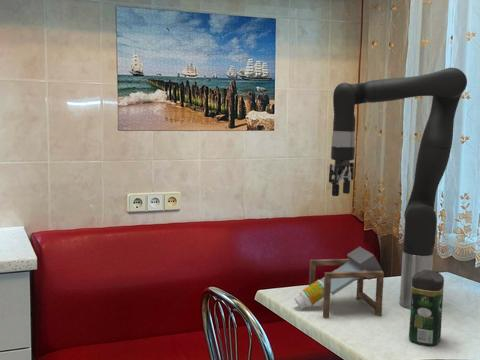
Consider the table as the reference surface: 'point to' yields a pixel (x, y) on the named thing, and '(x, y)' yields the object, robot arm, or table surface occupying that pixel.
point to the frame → (358, 274)
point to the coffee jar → (426, 307)
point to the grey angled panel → (354, 268)
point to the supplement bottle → (310, 294)
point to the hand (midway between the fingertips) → (340, 194)
